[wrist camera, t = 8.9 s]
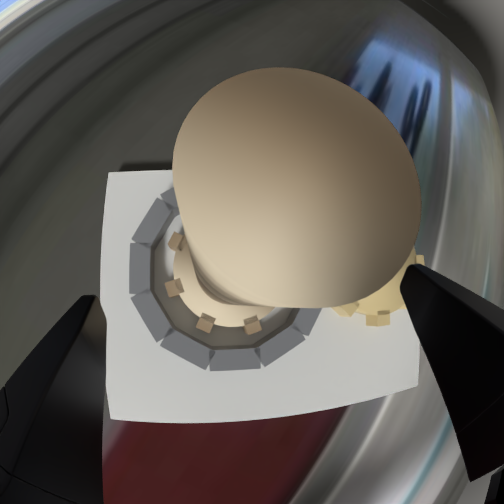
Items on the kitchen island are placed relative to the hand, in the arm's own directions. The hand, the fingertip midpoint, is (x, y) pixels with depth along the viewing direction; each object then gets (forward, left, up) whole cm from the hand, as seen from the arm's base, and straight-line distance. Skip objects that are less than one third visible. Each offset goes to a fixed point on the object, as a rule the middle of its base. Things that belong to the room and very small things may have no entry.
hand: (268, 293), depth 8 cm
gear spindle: (+2, 0, -10) cm, 10 cm away
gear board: (0, -3, -11) cm, 12 cm away
